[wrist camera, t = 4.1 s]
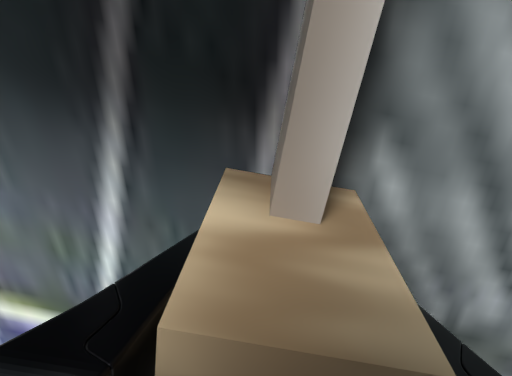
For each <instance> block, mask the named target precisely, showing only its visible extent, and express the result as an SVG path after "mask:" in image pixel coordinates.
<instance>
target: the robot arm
mask: <svg viewBox="0 0 512 376" xmlns="http://www.w3.org/2000/svg"><path fill="white" fill-rule="evenodd" d="M198 232H199V230H197V231H196V232H194V233H193V234H191V235H189V236H188V237H186V238H185V239H183V240H181V241H180V242H178V243H177V244H175V245H174V246H172V247H170V248H169V249H167V250H166V251H164V252H162V253H161V254H159V255H158V256H156V257H155V258H153V259H151V260H150V261H148V262H147V263H145V264H143V265H142V266H140V267H139V268H137V269H136V270H134V271H132V272H131V273H129V274H128V275H126V276H124V277H123V278H121V279H120V280H118V281H117V282H115V284H112V285H110V286H108V287H107V288H105V289H104V290H102V291H100V292H99V293H97V294H95V295H94V296H92V297H90V298H89V299H87V300H85V301H84V302H82V303H80V304H78V305H76V306H75V307H73V308H71V309H69V310H67V311H65V312H63V313H62V314H60V315H58V316H56V317H54V318H52V319H50V320H48V321H46V322H44V323H42V324H40V325H39V326H37V327H35V328H33V329H31V330H29V331H27V332H25V333H23V334H21V335H19V336H17V337H15V338H13V339H11V340H9V341H7V342H5V343H4V344H2V345H0V376H155V365H156V343H157V327H158V324H159V322H160V320H161V317H162V315H163V313H164V310H165V308H166V306H167V303H168V301H169V299H170V297H171V294H172V292H173V290H174V287H175V285H176V283H177V280H178V278H179V276H180V273H181V271H182V269H183V266H184V264H185V262H186V259H187V257H188V255H189V253H190V250H191V248H192V246H193V243H194V241H195V239H196V236H197V234H198ZM417 305H418V304H417ZM418 307H419V309H420V311H421V312H422V314H423V316H424V318H425V320H426V322H427V323H428V325H429V327H430V329H431V331H432V333H433V334H434V336H435V338H436V340H437V342H438V344H439V345H440V347H441V349H442V351H443V353H444V355H445V356H446V358H447V360H448V362H449V364H450V366H451V367H452V369H453V371H454V373H455V375H456V376H502V375H500V374H499V373H498V372H497V371H495V370H494V369H493V368H492V367H491V366H489V365H488V364H487V363H486V362H485V361H483V360H482V359H481V358H480V357H479V356H477V355H476V354H475V353H474V352H473V351H472V350H470V349H469V348H468V347H467V346H466V345H465V344H462V343H461V341H460V340H459V339H457V338H456V337H455V336H454V335H453V334H452V333H450V332H449V331H448V330H447V329H446V328H445V327H443V326H442V325H441V324H440V323H439V322H438V321H436V320H435V319H434V318H433V317H432V316H431V315H429V314H428V313H427V312H426V311H425V310H424V309H422V308H421V307H420V306H419V305H418Z"/></svg>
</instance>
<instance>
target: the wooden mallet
mask: <svg viewBox="0 0 512 376" xmlns="http://www.w3.org/2000/svg"><path fill="white" fill-rule="evenodd" d="M384 1H385V0H306V4H305V9H304V14H303V19H302V24H301V29H300V34H299V39H298V44H297V49H296V54H295V59H294V64H293V69H292V74H291V79H290V84H289V89H288V94H287V99H286V104H285V110H284V115H283V120H282V125H281V130H280V135H279V140H278V145H277V150H276V155H275V160H274V165H273V170H272V175H271V176H270V175H264V174H258V173H253V172H247V171H241V170H236V169H230V168H226V169H225V172H224V174H223V176H222V178H221V181H220V183H219V185H218V188H217V190H216V192H215V195H214V197H213V199H212V202H211V204H210V206H209V209H208V211H207V213H206V216H205V218H204V220H203V222H202V225H201V227H200V229H199V232H198V234H197V236H196V239H195V241H194V243H193V246H192V248H191V250H190V253H189V255H188V257H187V259H186V262H185V264H184V266H183V269H182V271H181V273H180V276H179V278H178V280H177V283H176V285H175V287H174V290H173V292H172V294H171V297H170V299H169V301H168V303H167V306H166V308H165V310H164V313H163V315H162V317H161V320H160V322H159V324H158V327H157V343H156V365H155V376H456V375H455V373H454V371H453V369H452V367H451V366H450V364H449V362H448V360H447V358H446V356H445V355H444V353H443V351H442V349H441V347H440V345H439V344H438V342H437V340H436V338H435V336H434V334H433V333H432V331H431V329H430V327H429V325H428V323H427V322H426V320H425V318H424V316H423V314H422V312H421V311H420V309H419V307H418V305H417V303H416V302H415V300H414V298H413V296H412V294H411V292H410V291H409V289H408V287H407V285H406V283H405V281H404V280H403V278H402V276H401V274H400V272H399V270H398V269H397V267H396V265H395V263H394V261H393V259H392V258H391V256H390V254H389V252H388V250H387V248H386V247H385V245H384V243H383V241H382V239H381V237H380V236H379V234H378V232H377V230H376V228H375V226H374V225H373V223H372V221H371V219H370V217H369V215H368V214H367V212H366V210H365V208H364V206H363V204H362V203H361V201H360V199H359V197H358V195H357V193H356V192H355V190H349V189H343V188H338V187H332V186H331V185H332V181H333V178H334V174H335V171H336V167H337V164H338V161H339V157H340V154H341V150H342V147H343V143H344V140H345V136H346V133H347V129H348V126H349V123H350V119H351V116H352V112H353V109H354V105H355V102H356V98H357V95H358V91H359V88H360V84H361V81H362V78H363V74H364V71H365V67H366V64H367V60H368V57H369V53H370V50H371V46H372V43H373V39H374V36H375V33H376V29H377V26H378V22H379V19H380V15H381V12H382V8H383V5H384Z"/></svg>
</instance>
